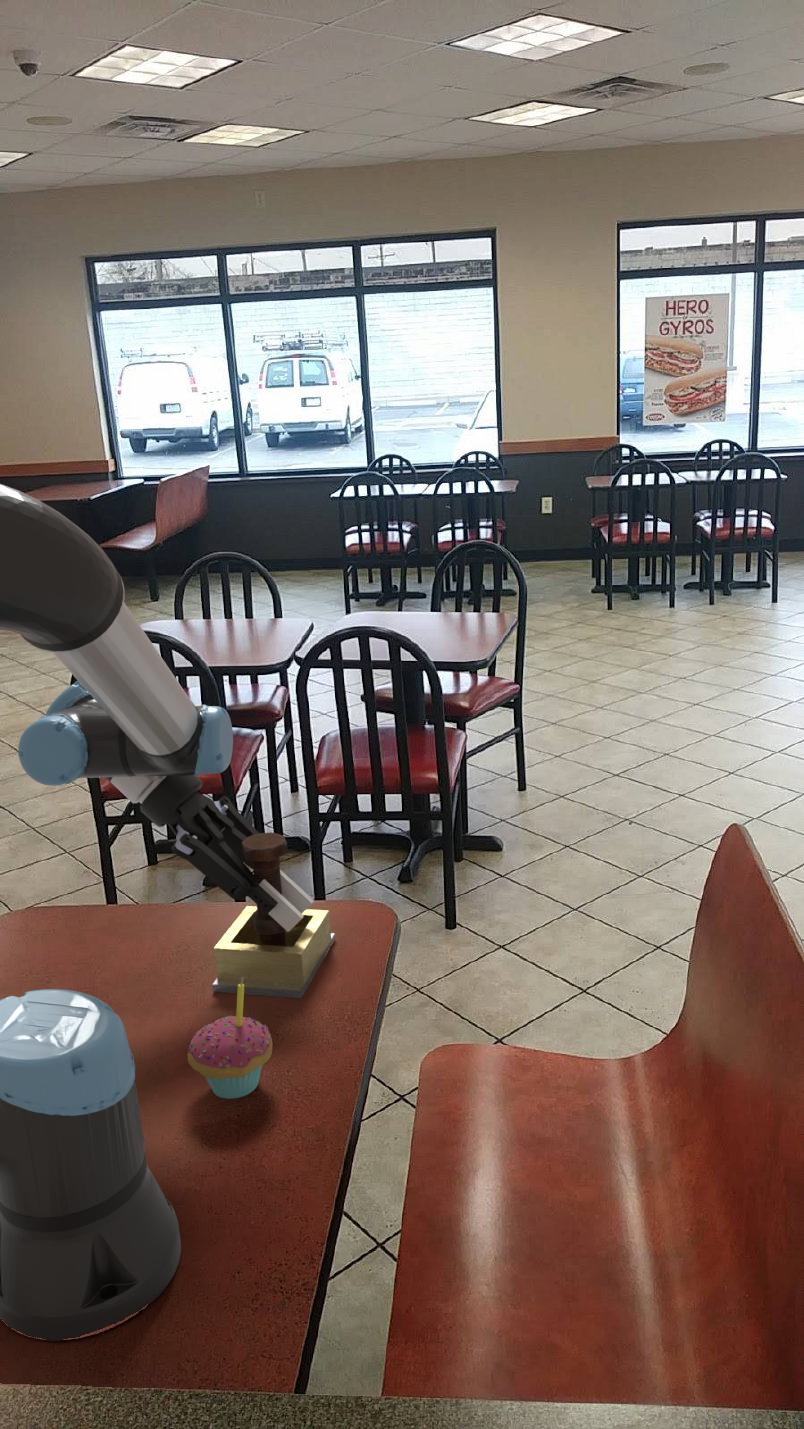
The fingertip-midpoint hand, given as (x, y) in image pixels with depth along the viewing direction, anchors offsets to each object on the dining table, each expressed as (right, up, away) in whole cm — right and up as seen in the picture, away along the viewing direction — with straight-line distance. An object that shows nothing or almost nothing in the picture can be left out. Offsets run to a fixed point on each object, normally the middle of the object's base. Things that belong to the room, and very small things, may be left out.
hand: (301, 915), depth 134 cm
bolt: (-3, -5, +2) cm, 7 cm away
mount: (-3, -7, +3) cm, 8 cm away
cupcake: (-5, -14, -20) cm, 25 cm away
